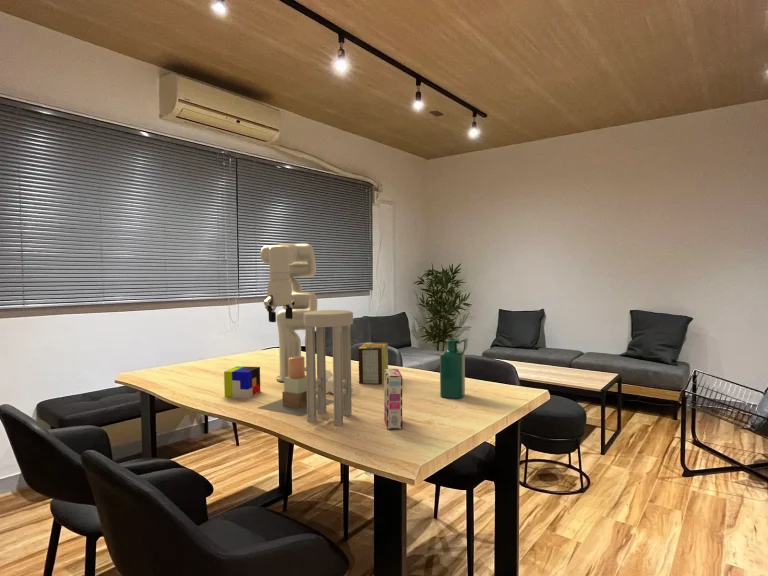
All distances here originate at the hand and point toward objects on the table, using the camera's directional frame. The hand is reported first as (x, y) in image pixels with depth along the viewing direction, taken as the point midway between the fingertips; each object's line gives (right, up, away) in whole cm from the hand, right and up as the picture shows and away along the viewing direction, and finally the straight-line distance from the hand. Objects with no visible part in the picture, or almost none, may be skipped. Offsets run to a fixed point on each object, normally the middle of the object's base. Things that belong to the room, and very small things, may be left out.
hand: (280, 320), depth 182 cm
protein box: (+36, -28, +21) cm, 51 cm away
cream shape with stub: (+21, -29, -1) cm, 36 cm away
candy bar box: (+44, -30, -38) cm, 65 cm away
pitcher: (+68, -29, -6) cm, 74 cm away
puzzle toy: (-15, -30, 0) cm, 33 cm away
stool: (+23, -30, -31) cm, 49 cm away
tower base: (+10, -29, -17) cm, 35 cm away
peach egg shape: (+10, -19, -17) cm, 27 cm away
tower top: (+10, -24, -17) cm, 31 cm away
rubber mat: (+10, -30, -17) cm, 35 cm away
